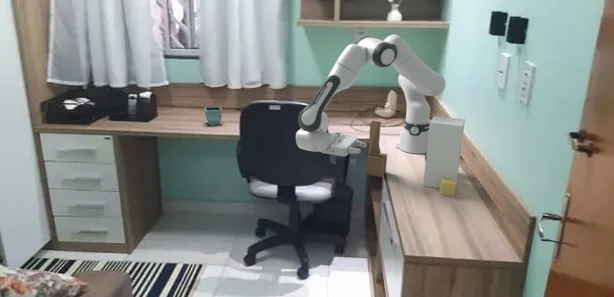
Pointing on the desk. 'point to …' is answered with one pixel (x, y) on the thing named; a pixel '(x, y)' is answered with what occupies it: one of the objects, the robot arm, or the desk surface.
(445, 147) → the white block
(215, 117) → the flower pot
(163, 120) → the desk surface
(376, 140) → the brown block
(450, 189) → the mustard block
